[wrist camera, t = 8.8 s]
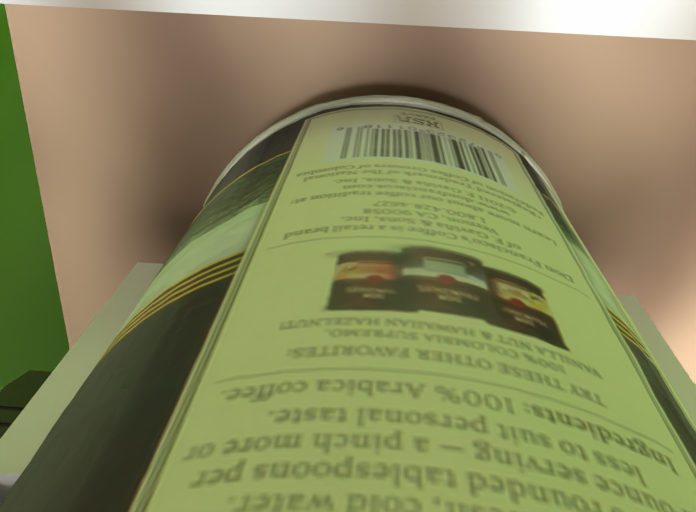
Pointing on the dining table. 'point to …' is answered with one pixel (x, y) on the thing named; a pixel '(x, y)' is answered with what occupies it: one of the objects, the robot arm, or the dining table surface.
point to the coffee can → (373, 343)
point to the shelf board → (350, 81)
